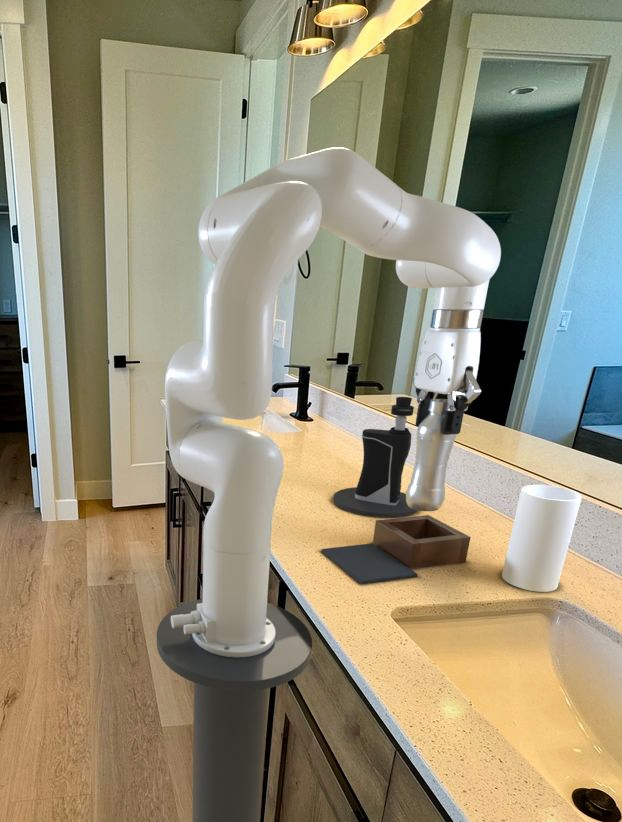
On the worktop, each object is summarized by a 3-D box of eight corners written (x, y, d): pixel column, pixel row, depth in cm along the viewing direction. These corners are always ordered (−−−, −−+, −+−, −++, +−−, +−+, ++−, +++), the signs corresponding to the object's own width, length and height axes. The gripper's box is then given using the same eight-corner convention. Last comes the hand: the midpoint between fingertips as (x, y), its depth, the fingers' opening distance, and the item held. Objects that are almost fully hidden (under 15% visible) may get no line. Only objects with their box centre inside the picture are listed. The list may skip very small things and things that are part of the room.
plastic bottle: (395, 507, 107) (412, 399, 100) (420, 501, 110) (439, 396, 103) (424, 517, 102) (445, 404, 95) (450, 511, 105) (471, 401, 98)
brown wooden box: (409, 569, 103) (413, 543, 101) (372, 543, 114) (375, 520, 112) (465, 561, 105) (470, 537, 104) (424, 537, 116) (428, 514, 114)
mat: (360, 584, 98) (361, 581, 98) (321, 551, 111) (321, 548, 110) (417, 576, 100) (417, 573, 100) (372, 545, 113) (372, 543, 113)
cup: (547, 597, 93) (571, 504, 87) (493, 579, 99) (513, 491, 93) (565, 581, 98) (589, 492, 92) (513, 565, 104) (532, 481, 98)
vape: (410, 523, 123) (429, 407, 114) (323, 508, 133) (333, 400, 124) (424, 498, 139) (442, 394, 129) (345, 486, 148) (356, 388, 139)
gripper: (403, 320, 101) (388, 421, 108) (474, 323, 86) (452, 441, 92) (440, 320, 103) (423, 420, 109) (516, 323, 87) (491, 439, 94)
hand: (436, 428), depth 101 cm, fingers closed on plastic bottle, 6 cm apart
